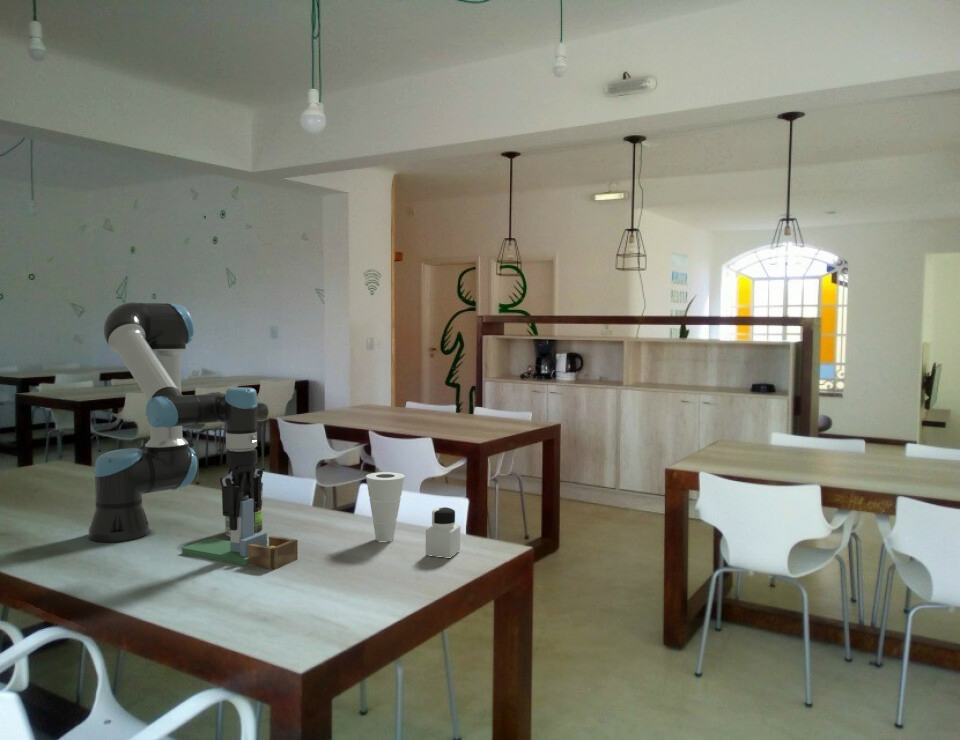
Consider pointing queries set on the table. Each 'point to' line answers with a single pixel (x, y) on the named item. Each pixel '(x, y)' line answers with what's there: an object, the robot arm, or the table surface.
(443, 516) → the medicine bottle
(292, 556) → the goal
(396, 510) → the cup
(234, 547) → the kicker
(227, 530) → the coffee can
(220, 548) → the plate
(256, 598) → the table surface
